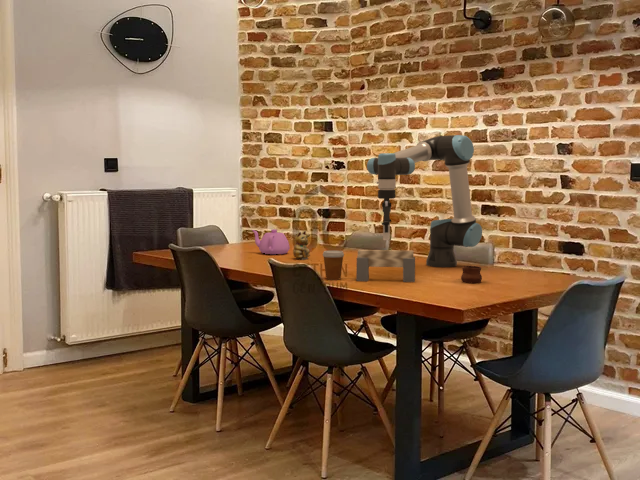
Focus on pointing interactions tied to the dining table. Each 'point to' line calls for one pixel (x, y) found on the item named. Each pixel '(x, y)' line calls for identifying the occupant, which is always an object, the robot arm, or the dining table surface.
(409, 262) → the set of support blocks
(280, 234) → the teapot
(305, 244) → the decorative figurine
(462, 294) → the dining table surface
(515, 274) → the dining table surface
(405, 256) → the ash rail plank
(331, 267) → the disposable coffee cup
